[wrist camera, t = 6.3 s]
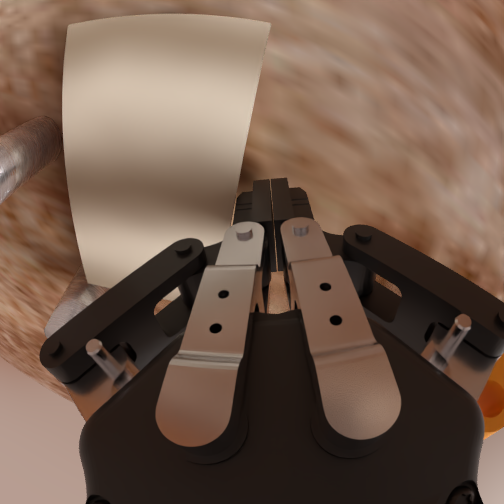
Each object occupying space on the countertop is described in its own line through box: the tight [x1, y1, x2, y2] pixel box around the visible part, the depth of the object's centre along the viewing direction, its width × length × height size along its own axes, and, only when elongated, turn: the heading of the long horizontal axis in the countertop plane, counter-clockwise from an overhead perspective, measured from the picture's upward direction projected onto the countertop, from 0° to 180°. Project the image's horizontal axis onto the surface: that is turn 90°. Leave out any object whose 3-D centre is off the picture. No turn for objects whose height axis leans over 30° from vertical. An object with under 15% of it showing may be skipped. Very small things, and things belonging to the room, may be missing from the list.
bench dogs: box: [0, 116, 111, 338], centre depth 12 cm, size 13×3×6 cm, turn 7°
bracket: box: [477, 353, 504, 440], centre depth 17 cm, size 11×7×12 cm
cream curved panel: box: [62, 14, 271, 301], centre depth 12 cm, size 14×8×3 cm, turn 169°
